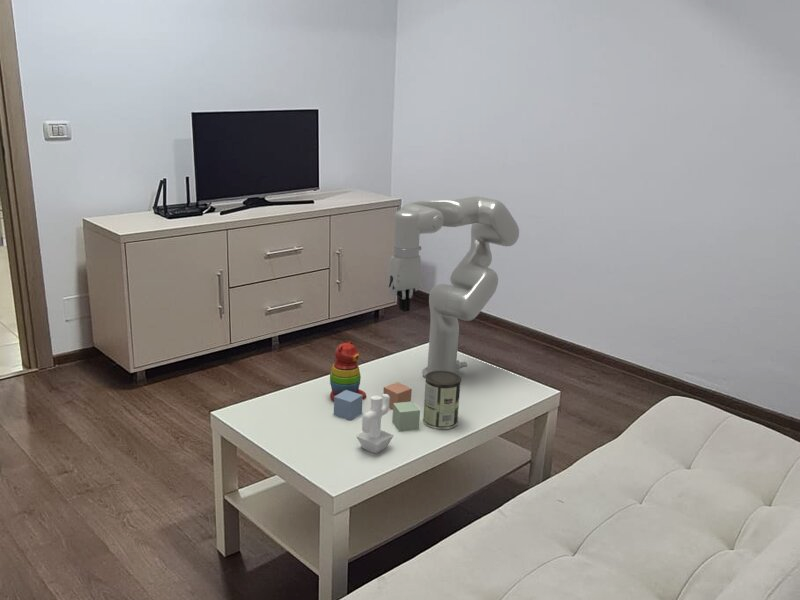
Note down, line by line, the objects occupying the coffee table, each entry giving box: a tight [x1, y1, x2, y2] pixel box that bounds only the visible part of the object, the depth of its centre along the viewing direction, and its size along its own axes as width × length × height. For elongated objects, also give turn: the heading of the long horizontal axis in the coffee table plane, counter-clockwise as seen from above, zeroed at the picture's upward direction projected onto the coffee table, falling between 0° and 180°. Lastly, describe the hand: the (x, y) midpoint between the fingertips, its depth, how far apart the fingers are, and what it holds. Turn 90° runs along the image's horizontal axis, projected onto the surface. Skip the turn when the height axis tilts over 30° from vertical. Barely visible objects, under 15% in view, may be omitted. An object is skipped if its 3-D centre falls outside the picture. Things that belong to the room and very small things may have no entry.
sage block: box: [392, 400, 421, 432], centre depth 213 cm, size 6×6×6 cm
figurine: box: [356, 394, 394, 454], centre depth 198 cm, size 7×9×15 cm
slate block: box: [333, 390, 364, 421], centre depth 218 cm, size 6×6×6 cm
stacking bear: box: [329, 341, 367, 403], centre depth 226 cm, size 11×10×18 cm
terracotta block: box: [382, 381, 413, 411], centre depth 225 cm, size 6×6×6 cm
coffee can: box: [422, 371, 462, 430], centre depth 215 cm, size 10×10×14 cm
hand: (404, 310), depth 226 cm, fingers closed
